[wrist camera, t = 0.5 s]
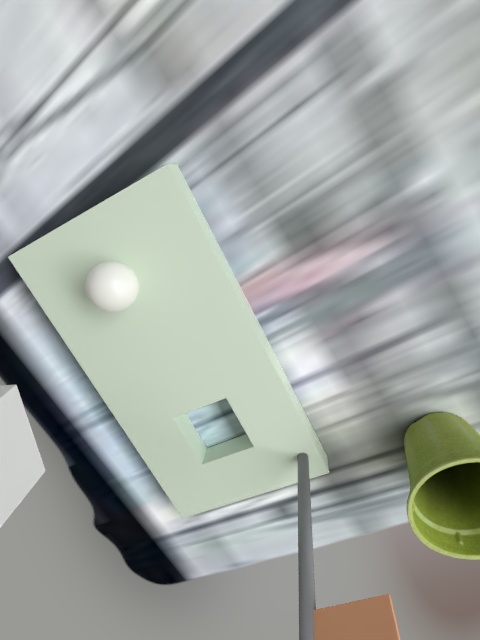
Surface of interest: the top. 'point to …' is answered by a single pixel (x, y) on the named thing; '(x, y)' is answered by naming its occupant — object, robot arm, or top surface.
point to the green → (189, 368)
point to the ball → (112, 286)
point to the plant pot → (444, 484)
